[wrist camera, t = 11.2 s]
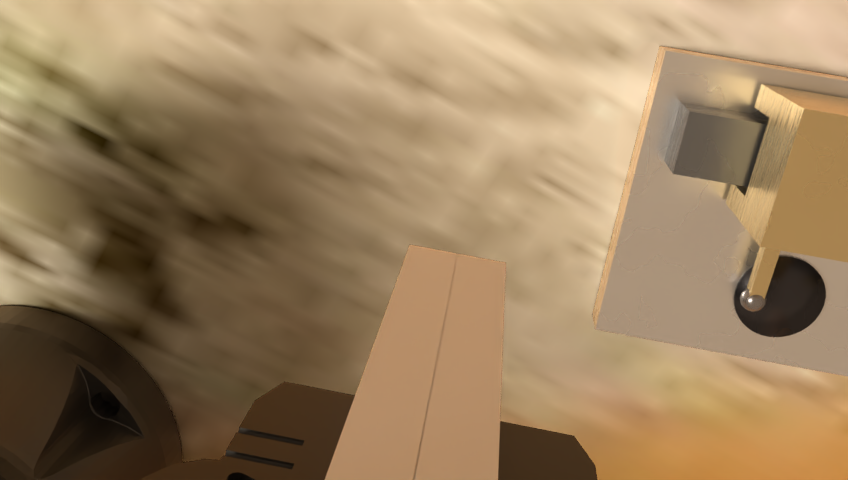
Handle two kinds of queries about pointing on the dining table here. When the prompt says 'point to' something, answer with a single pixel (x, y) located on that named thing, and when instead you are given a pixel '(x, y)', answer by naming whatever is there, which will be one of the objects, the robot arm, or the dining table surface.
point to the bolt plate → (714, 225)
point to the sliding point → (795, 184)
